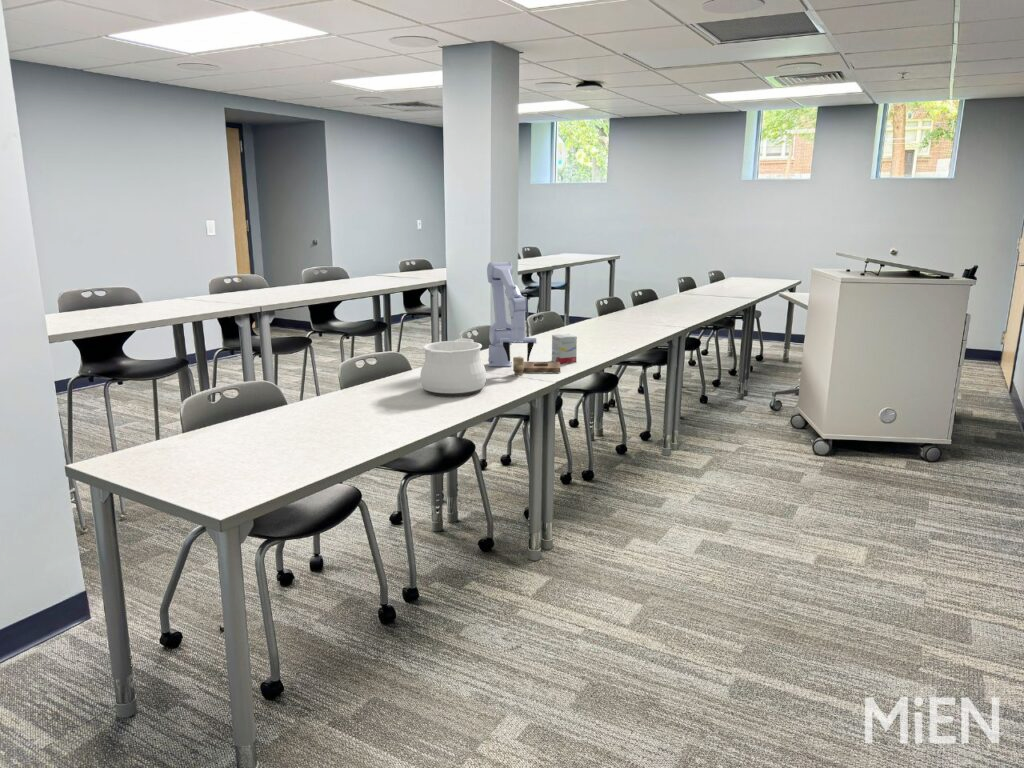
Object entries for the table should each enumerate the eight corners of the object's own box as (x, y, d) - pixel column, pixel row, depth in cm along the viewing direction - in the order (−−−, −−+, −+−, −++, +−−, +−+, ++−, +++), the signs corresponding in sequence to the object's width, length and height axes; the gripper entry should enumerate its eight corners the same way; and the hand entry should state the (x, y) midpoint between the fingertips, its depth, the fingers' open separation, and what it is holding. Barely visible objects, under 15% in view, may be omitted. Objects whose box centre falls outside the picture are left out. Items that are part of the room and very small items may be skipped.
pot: (438, 380, 284) (437, 336, 280) (497, 384, 277) (496, 339, 273) (407, 397, 258) (405, 349, 254) (470, 402, 250) (469, 353, 246)
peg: (513, 375, 290) (512, 358, 288) (513, 373, 294) (513, 356, 293) (523, 375, 290) (523, 358, 288) (524, 373, 294) (523, 356, 292)
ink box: (577, 362, 315) (577, 335, 312) (559, 364, 312) (559, 337, 309) (568, 359, 323) (568, 333, 320) (551, 360, 320) (551, 334, 317)
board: (521, 372, 295) (521, 368, 295) (522, 366, 308) (522, 361, 308) (560, 372, 295) (560, 368, 294) (559, 366, 307) (559, 361, 307)
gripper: (499, 329, 284) (500, 362, 287) (536, 329, 283) (536, 362, 286) (500, 326, 291) (501, 359, 294) (536, 326, 290) (536, 359, 293)
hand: (518, 360), depth 291 cm, fingers open, 7 cm apart
